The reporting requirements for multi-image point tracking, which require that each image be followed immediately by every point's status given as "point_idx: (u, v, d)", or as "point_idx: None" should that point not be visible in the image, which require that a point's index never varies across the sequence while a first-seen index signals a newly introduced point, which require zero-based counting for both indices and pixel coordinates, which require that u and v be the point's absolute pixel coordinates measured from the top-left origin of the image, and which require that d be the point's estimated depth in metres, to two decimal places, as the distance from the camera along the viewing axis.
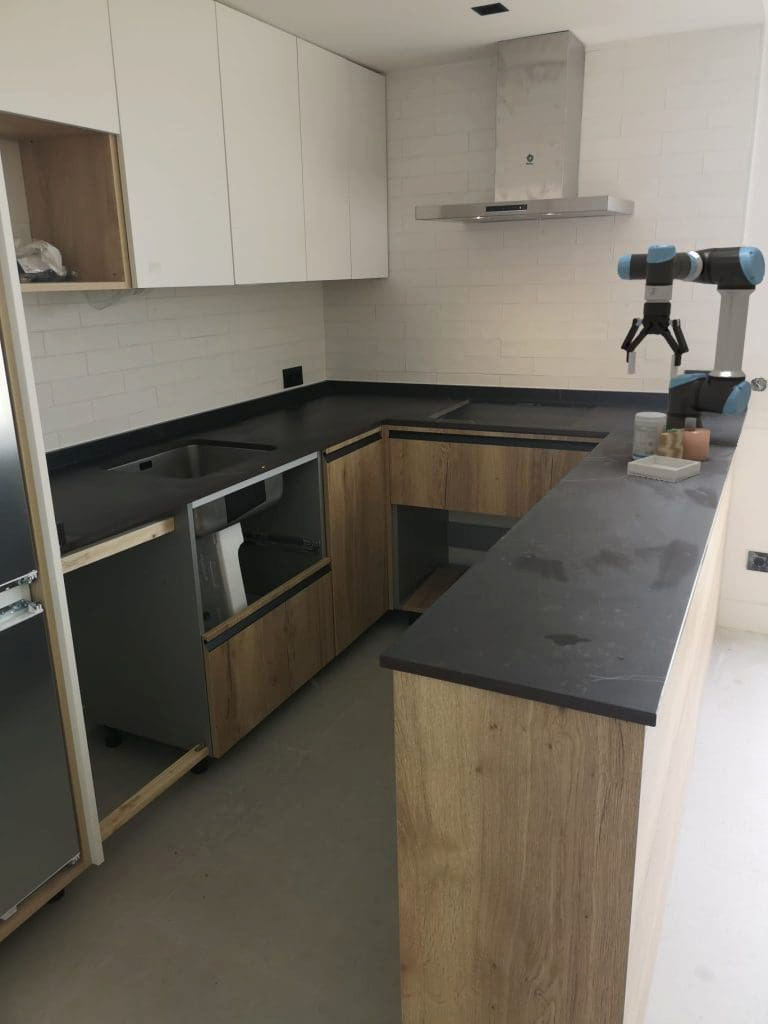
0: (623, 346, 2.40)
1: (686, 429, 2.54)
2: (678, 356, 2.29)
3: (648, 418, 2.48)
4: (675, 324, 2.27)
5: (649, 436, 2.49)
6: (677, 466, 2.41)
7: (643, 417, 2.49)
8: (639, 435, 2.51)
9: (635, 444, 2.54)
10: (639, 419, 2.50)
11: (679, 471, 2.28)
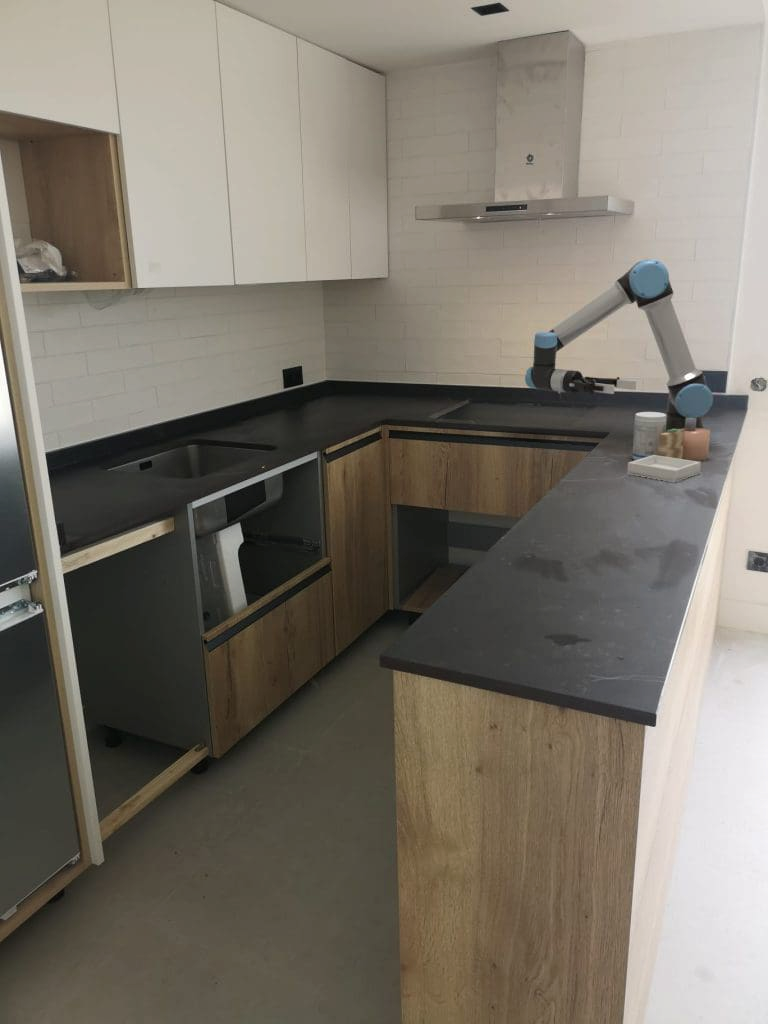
0: None
1: (686, 429, 2.54)
2: None
3: (648, 418, 2.48)
4: (572, 388, 2.63)
5: (649, 436, 2.49)
6: (677, 466, 2.41)
7: (643, 417, 2.49)
8: (639, 435, 2.51)
9: (635, 444, 2.54)
10: (639, 419, 2.50)
11: (679, 471, 2.28)
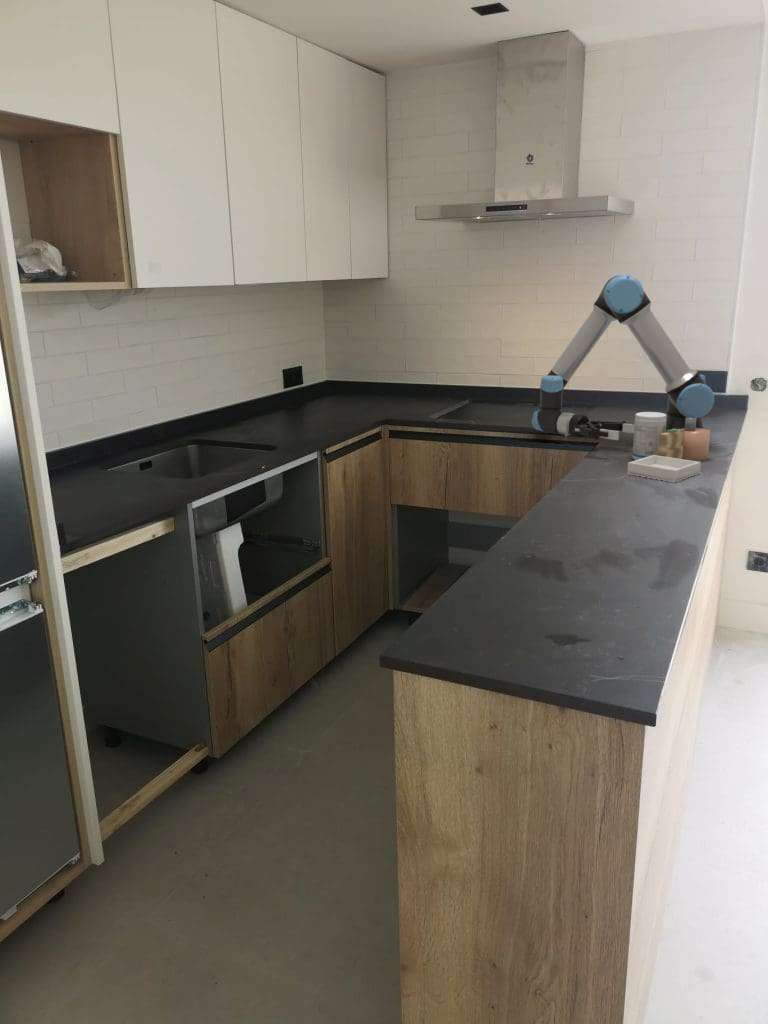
0: None
1: (686, 429, 2.54)
2: (598, 435, 2.57)
3: (648, 418, 2.48)
4: None
5: (649, 436, 2.49)
6: (677, 466, 2.41)
7: (643, 417, 2.49)
8: (639, 435, 2.51)
9: (635, 444, 2.54)
10: (639, 419, 2.50)
11: (679, 471, 2.28)
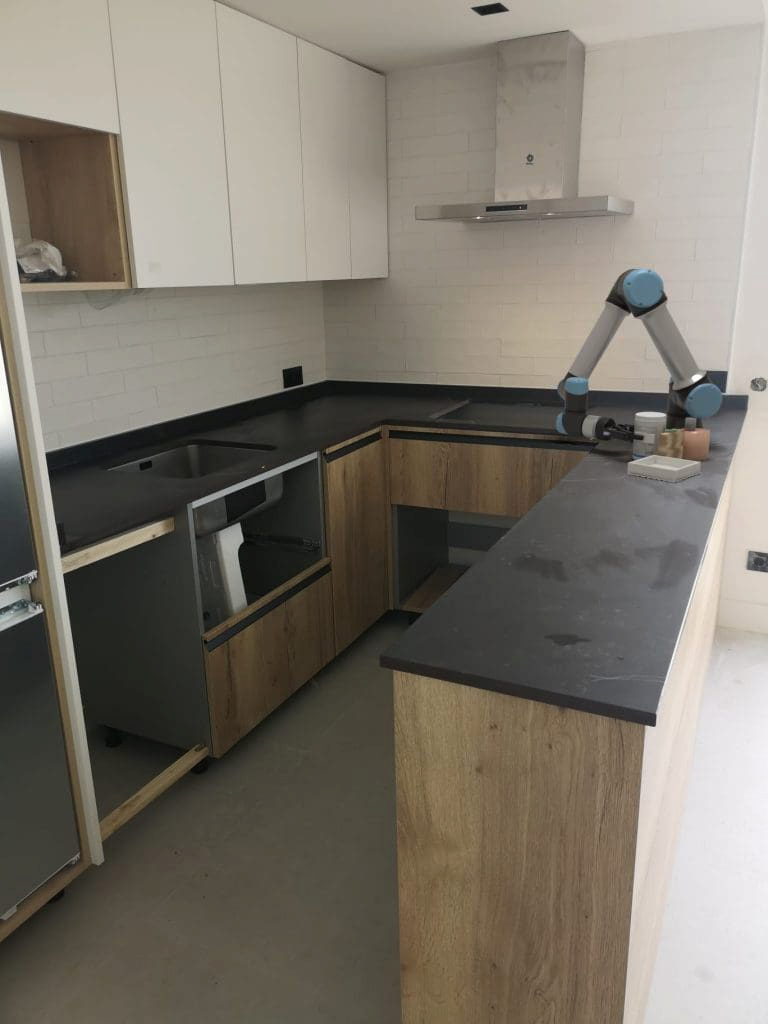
0: None
1: (686, 429, 2.54)
2: (634, 439, 2.51)
3: (648, 418, 2.48)
4: (607, 437, 2.58)
5: None
6: (677, 466, 2.41)
7: (643, 417, 2.49)
8: None
9: (635, 444, 2.54)
10: (639, 419, 2.50)
11: (679, 471, 2.28)
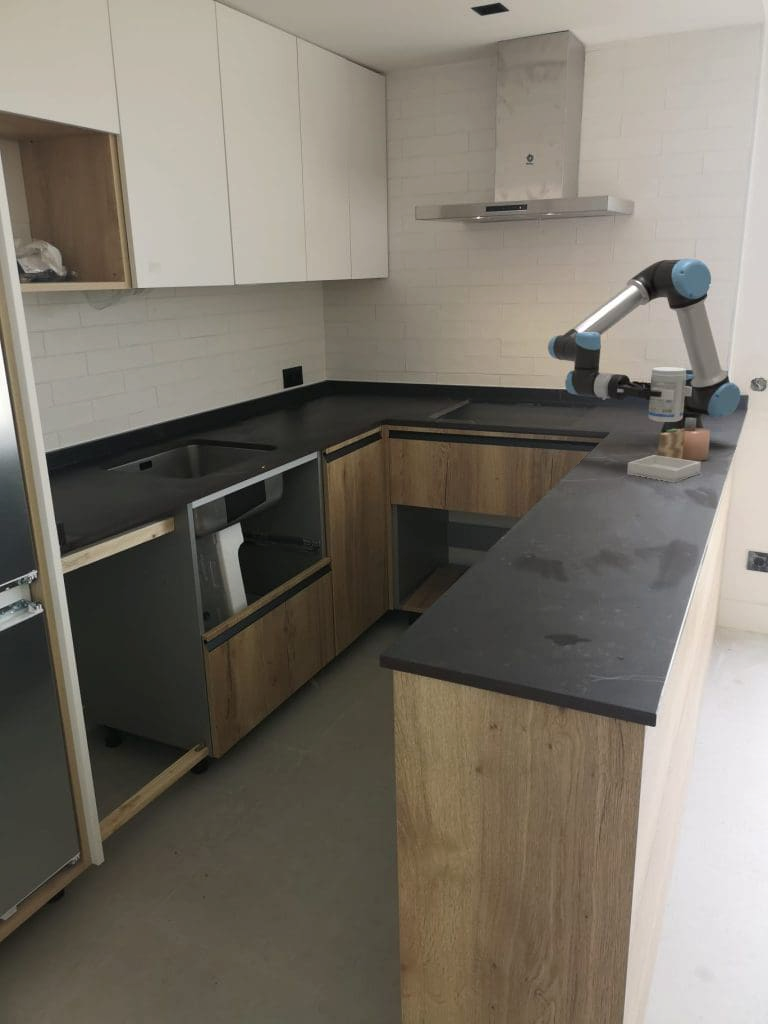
0: None
1: (686, 429, 2.54)
2: (650, 395, 2.29)
3: (666, 372, 2.26)
4: (621, 394, 2.35)
5: None
6: (677, 466, 2.41)
7: (661, 371, 2.27)
8: None
9: (651, 402, 2.31)
10: (656, 374, 2.28)
11: (679, 471, 2.28)
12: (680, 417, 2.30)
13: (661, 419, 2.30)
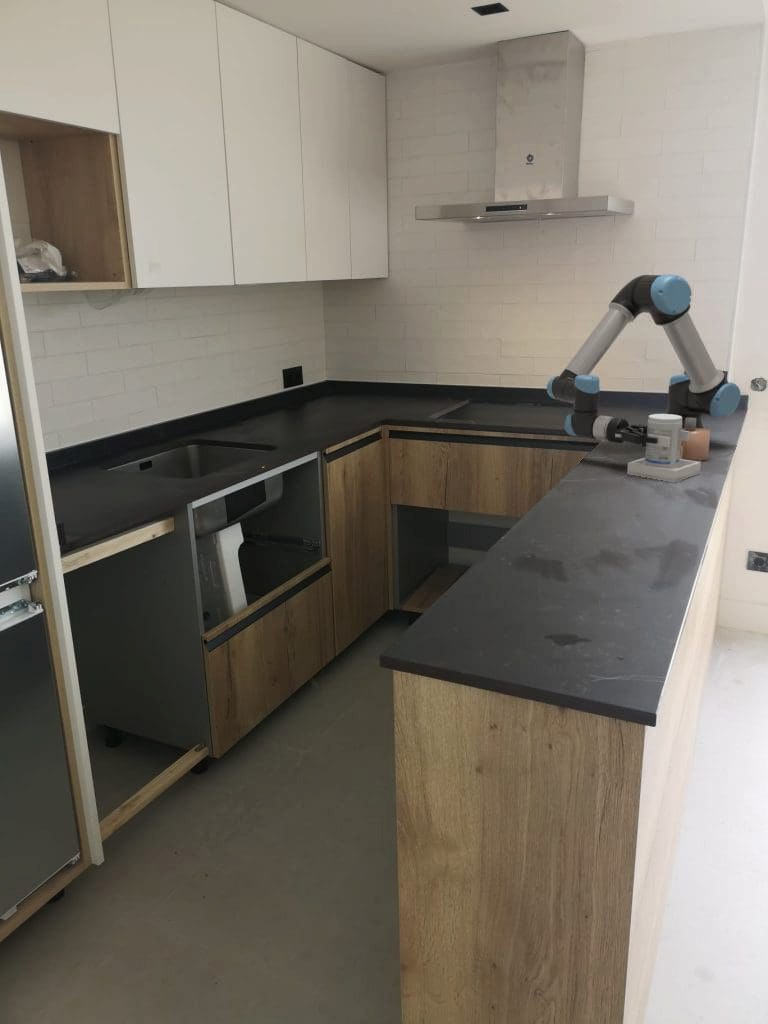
0: None
1: (686, 429, 2.54)
2: None
3: (662, 420, 2.29)
4: (619, 439, 2.38)
5: None
6: (677, 466, 2.41)
7: (657, 419, 2.29)
8: None
9: (647, 449, 2.34)
10: (652, 421, 2.31)
11: (679, 471, 2.28)
12: (676, 464, 2.33)
13: (657, 466, 2.32)
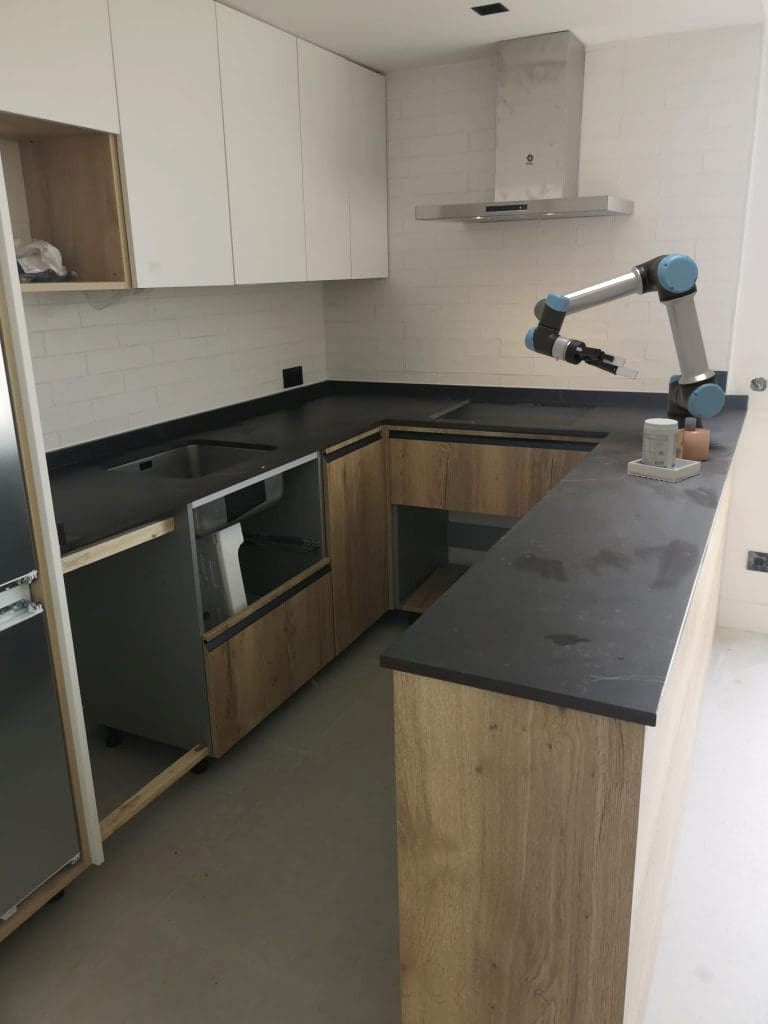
0: (613, 373, 2.59)
1: (686, 429, 2.54)
2: (603, 358, 2.44)
3: (658, 425, 2.30)
4: (578, 353, 2.50)
5: (659, 445, 2.31)
6: (677, 466, 2.41)
7: (653, 424, 2.31)
8: (649, 444, 2.33)
9: (644, 453, 2.36)
10: (648, 426, 2.32)
11: (679, 471, 2.28)
12: (672, 468, 2.35)
13: None
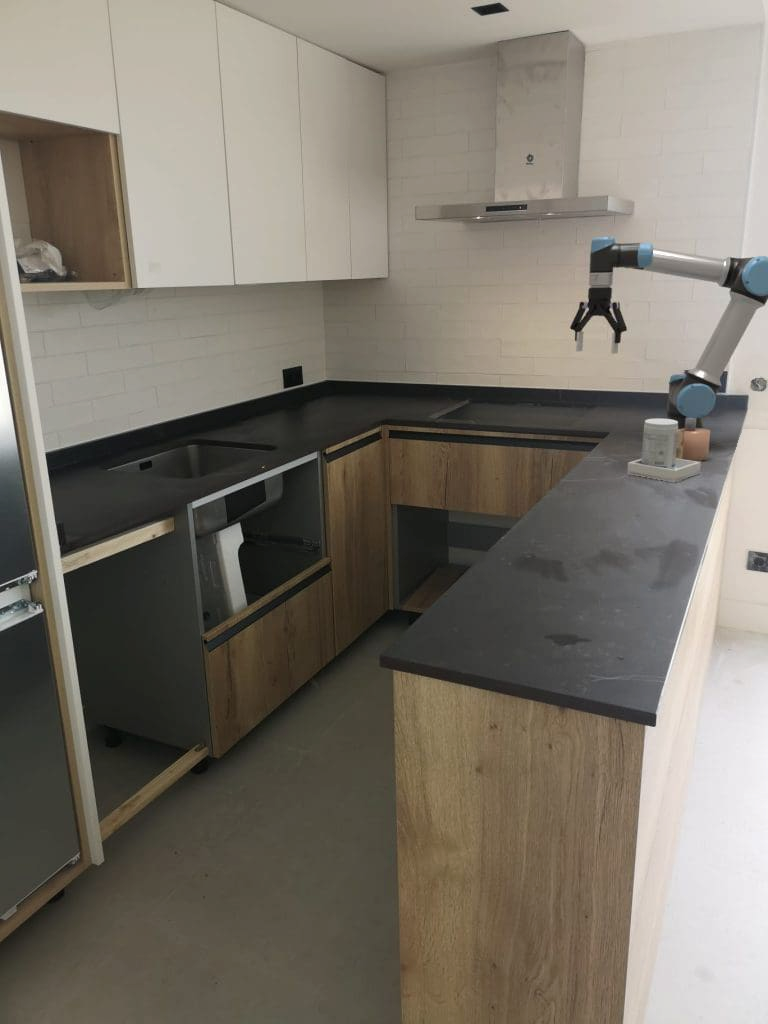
0: (572, 326, 2.74)
1: (686, 429, 2.54)
2: (618, 334, 2.63)
3: (658, 425, 2.30)
4: (615, 306, 2.61)
5: (659, 445, 2.31)
6: (677, 466, 2.41)
7: (653, 424, 2.31)
8: (649, 444, 2.33)
9: (644, 453, 2.36)
10: (649, 426, 2.32)
11: (679, 471, 2.28)
12: (672, 468, 2.35)
13: None
